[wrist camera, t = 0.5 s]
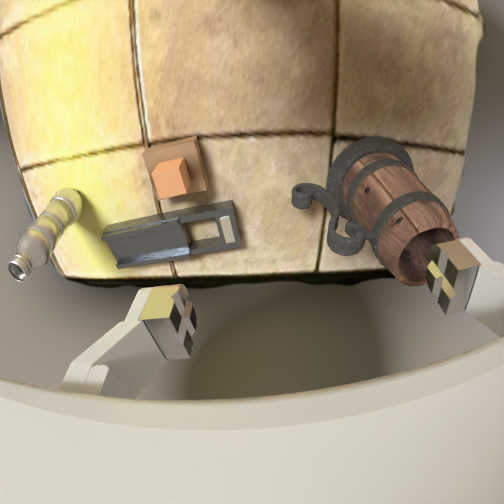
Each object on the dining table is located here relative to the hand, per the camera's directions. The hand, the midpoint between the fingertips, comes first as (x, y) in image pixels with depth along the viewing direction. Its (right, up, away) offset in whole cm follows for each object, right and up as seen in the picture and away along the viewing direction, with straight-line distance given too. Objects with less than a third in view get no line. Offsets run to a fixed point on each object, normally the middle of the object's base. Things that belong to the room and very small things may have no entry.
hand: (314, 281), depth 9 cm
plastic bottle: (-35, +11, +38) cm, 52 cm away
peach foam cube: (-13, +13, +33) cm, 38 cm away
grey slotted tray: (-16, +5, +43) cm, 46 cm away
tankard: (+15, +13, +38) cm, 43 cm away
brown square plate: (-13, +15, +35) cm, 40 cm away
